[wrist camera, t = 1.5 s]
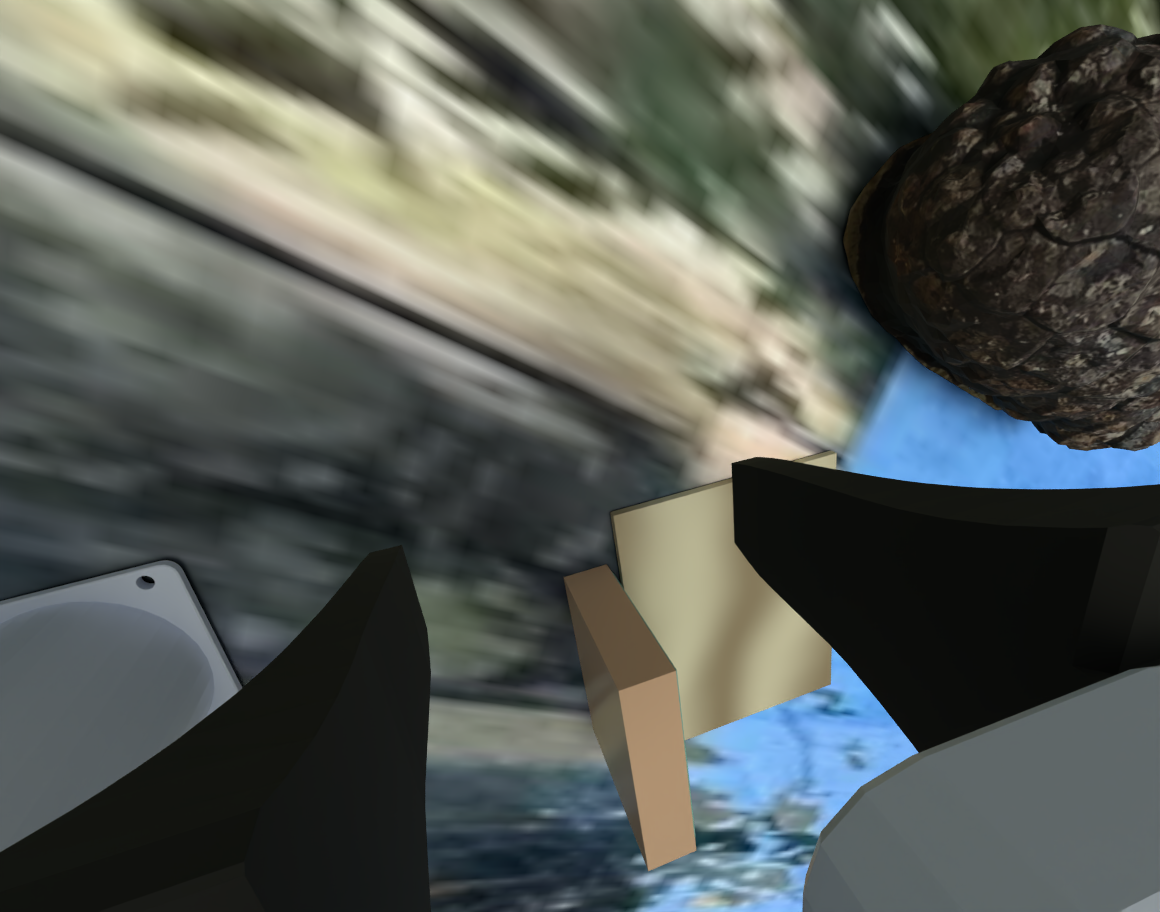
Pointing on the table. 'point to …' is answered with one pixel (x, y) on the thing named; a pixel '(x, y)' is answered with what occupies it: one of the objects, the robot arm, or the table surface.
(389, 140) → the table surface
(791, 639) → the board
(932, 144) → the pine cone
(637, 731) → the block
